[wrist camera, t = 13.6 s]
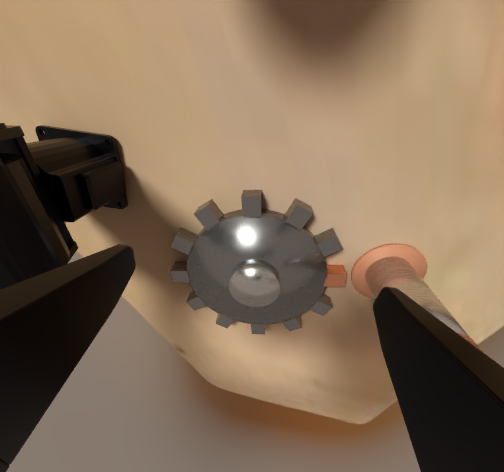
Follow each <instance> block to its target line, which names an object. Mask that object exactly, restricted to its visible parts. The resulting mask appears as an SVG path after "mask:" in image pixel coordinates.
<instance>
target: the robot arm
mask: <svg viewBox="0 0 504 472" xmlns="http://www.w3.org/2000/svg"><path fill="white" fill-rule="evenodd" d="M43 131H44V132H45V134H44V132H43ZM36 133H37V136H38V139H39V141H37V142H32V143H26V142H25V140H24V138H23V136H25V135H24V133H23V131H22V129H21V127H20V126H6V125H5V123H0V472H6V471H7V469H8V468H9V465H10V464H11V463H12V461H13V460H14V458H15V457H16V455H17V454H18V452H19V451H20V449H21V448H22V446H23V445H24V443H25V442H26V440H27V439H28V437H29V436H30V434H31V433H32V431H33V430H34V428H35V427H36V425H37V424H38V422H39V421H40V419H41V418H42V416H43V415H44V413H45V412H46V410H47V409H48V407H49V406H50V404H51V403H52V401H53V400H54V398H55V397H56V395H57V394H58V392H59V391H60V389H61V388H62V386H63V385H64V383H65V382H66V380H67V379H68V377H69V376H70V374H71V373H72V371H73V370H74V368H75V367H76V365H77V364H78V362H79V361H80V359H81V358H82V356H83V355H84V353H85V352H86V350H87V349H88V347H89V346H90V344H91V343H92V341H93V340H94V338H95V337H96V335H97V334H98V332H99V331H100V329H101V327H102V326H103V325H104V323H105V322H106V320H107V319H108V317H109V316H110V314H111V313H112V311H113V309H114V308H115V306H116V304H117V303H118V301H119V299H120V297H121V295H122V293H123V291H124V289H125V287H126V286H127V284H128V282H129V280H130V278H131V276H132V274H133V272H134V270H135V259H134V253H133V249H132V247H131V246H128V245H121V244H119V245H116V246H113V247H111V248H108V249H105V250H103V251H100V252H97V253H95V254H92V255H90V256H87V257H84V258H82V259H79V260H77V261H74V262H71V263H69V264H67V263H68V261H70V259H71V257H72V256H73V255H74V253H75V252H76V250H77V249H78V246H77V244H76V242H75V241H73V239H72V237H71V235H70V233H69V231H68V229H67V227H66V225H65V223H66V222H75V221H76V220H78V219H80V218H81V217H83V216H84V215H86V214H88V213H89V212H91V211H93V210H97V209H99V208H101V207H102V206H104V207H110V208H117V209H124V208H125V207H127V204H128V203H127V198H126V192H125V191H126V188H125V182H124V176H123V171H122V165H121V163H120V159H119V153H118V147H117V142H116V140H115V138H114V137H112V136H110V135H104V134H97V133H91V132H84V131H77V130H71V129H64V128H57V127H51V126H37V127H36ZM108 140H109V141H110V142H111V145H110V144H109V143H108ZM120 202H121V203H122V204H123V205H121V204H120ZM373 310H374V315H375V320H376V325H377V329H378V334H379V339H380V344H381V348H382V352H383V355H384V358H385V361H386V365H387V368H388V371H389V374H390V377H391V380H392V383H393V386H394V389H395V393H396V396H397V399H398V402H399V405H400V408H401V411H402V414H403V417H404V420H405V424H406V427H407V430H408V433H409V436H410V439H411V442H412V446H413V449H414V452H415V454H416V458H417V461H418V464H419V467H420V470H421V472H504V368H503V367H501V366H500V365H499V364H498V363H496V362H495V361H494V360H492V359H491V358H490V357H488V356H487V355H486V354H484V353H483V352H482V351H480V350H479V349H478V348H476V347H475V346H474V345H472V344H471V343H470V342H468V341H467V340H466V339H464V338H463V337H462V336H460V335H459V334H458V333H456V332H455V331H454V330H452V329H451V328H450V327H448V326H447V325H446V324H444V323H443V322H442V321H440V320H439V319H438V318H436V317H435V316H434V315H432V314H431V313H430V312H428V311H427V310H426V309H424V308H423V307H422V306H420V305H419V304H418V303H416V302H415V301H414V300H412V299H411V298H410V297H408V296H407V295H406V294H404V293H403V292H402V291H400V290H399V289H397V288H394V287H387V286H385V287H383V288H382V289H381V291H380V292H379V294H378V296H377V298H376V299H375V301H374V304H373Z"/></svg>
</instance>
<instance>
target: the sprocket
mask: <svg viewBox="0 0 504 472" xmlns="http://www.w3.org/2000/svg"><path fill="white" fill-rule="evenodd" d="M241 198H242V210H238V211H234V212H230V213H227V214H225V215H223V213H222V212H221V211H220V209H219V208H218V207H217V205H216V204H215V203H214V201H213V200H212V199H211V200H210V201H208V202H207V203H205V204H203V205H202V206H200V207H199V208H198V209H197V210H196V212H195V213H194V215H195V216H196V217H197V219H198V220H199V221H200V222H201V224H202V225H203V226H204V227H205V228H204V229H203V230H202V231H201V232H200V234H199V235H196V234H194V233H192V232H189V231H187V230H185V229H183V228H181V229H180V230H179V231H178V233H177V234H176V235H175V238H174V240H173V243H172V246H171V248H173V249H176V250H178V251H180V252H182V253H185V254H187V255H188V259H187V262H175V264H174V266H173V267H172V269H171V270H170V272H171V275H172V278H173V282H182V283H190V284H191V286H192V288H193V290H194V291H193V292H191V293H190V295H189V297H188V299H187V301H186V302H187V303H188V304H189V305H190V306H191V307H192V308H193V309H194V310H197V309H200V308H202V307H205V306H208V307H209V308H211V309H212V310H214V311H215V312H217V313H218V317H217V320H216V324H218V325H220V326H223V327H225V328H228V327H229V326H230V324H231V323H232V322H233V320H235V321H238V322H243V323H248V324H251V329H252V334H265V324H275V323H281V322H282V323H283V324H284V325H285V326H286V327H287V329H288V330H289V331H292V330H296V329H299V328H302V325H301V317H300V315H302V314H303V313H305V312H306V311H308V310H312V311H314V312H316V313H318V314H320V315H324V314H326V313H327V312H328V311H329V310H330V309H331V308H332V305H331V301H330V297H328V296H326V295H324V294H322V293H323V292H324V289H325V286H326V287H344V286H345V281H346V277H347V274H346V271H345V269H344V266H343V265H326V261H325V258H324V257H326V256H328V255H330V254H333V253H335V252H338V251H340V250H343V248H342V245H341V243H340V241H339V239H338V237H337V235H336V233H335V231H334V229H333V228H331V229H329V230H327V231H325V232H323V233H320V234H318V235H316V236H314V235H313V234H312V233H311V232H310V231H309V230H308V229H307V228H306V227H305V226H304V225H305V224H306V222H307V221H308V220H309V218H310V217H311V216H312V214H313V212H312V208H311V206H309V205H307V204H305V203H304V202H302V201H300V200H298V199H296V198H295V200H294V201H293V203H292V204H291V206H290V207H289V209H288V210H287V212H286V213H285V215H284V214H281V213H279V212H275V211H270V210H264V209H262V190H244V191H243V193H242V196H241Z"/></svg>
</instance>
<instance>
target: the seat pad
mask: <svg viewBox="0 0 504 472" xmlns="http://www.w3.org/2000/svg"><path fill="white" fill-rule="evenodd" d="M385 257H401V258H404V259H406V260H407V261H408V262H409V263H410V264H411V265H412V267H413V268H414V269H415V270H416V271H417V273H418V274H419V275H420V276H421V278H422V279H423V278H424V276H425V274H426V271H427V262H426V259H425V257H424V256H423V255H422V254H421V253H420V252H419V251H418V250H417V249H415V248H413V247H411V246H408V245H404V244H388V245H383V246H379V247H377V248H374V249H372V250H370V251H368V252H367V253H365V254H364V255H363V256H361V257H360V258H359V259H358V261H357V262H356V263H355V265H354V267H353V269H352V273H351V278H352V282H353V285H354V287H355V288H356V289H357V290H358V291H359V292H360V293H361V294H363V295H365V296H368V297H371V298H374V297H373V295H372V293H371V291H370V289H369V287H368V285H367V283H366V281H365V273H366V270H367V269H368V267H369V266H370V265H371V264H373V263H374V262H375V261H377V260H379V259H382V258H385Z"/></svg>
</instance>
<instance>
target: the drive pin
mask: <svg viewBox="0 0 504 472" xmlns="http://www.w3.org/2000/svg"><path fill="white" fill-rule="evenodd" d="M365 281H366V283H367V285H368V287H369V289H370V291H371V293H372V295H373V297H374V299H376V298H377V296H378V294H379V292H380V291H381V289H382V288H383V287H385V286H387V287H394V288H397V289H399V290H400V291H402V292H403V293H404V294H406V295H407V296H408V297H410V298H411V299H412V300H414V301H415V302H416V303H418V304H419V305H420V306H422V307H423V308H424V309H426V310H427V311H428V312H430V313H431V314H432V315H434V316H435V317H436V318H438V319H439V320H440V321H442V322H443V323H444V324H446V325H447V326H448V327H450V328H451V329H452V330H454V331H455V332H456V333H458V334H459V335H460V336H462V337H463V338H464V339H466V340H467V341H468V342H470V343H471V344H472V345H474V346H475V347H476V348H478V349H479V350H480V351H482V350H481V349H480V348H479V347H478V345H477V344H476V343H475V342H474V341H473V339H471V338H470V337H469V336H468V334H467V333H466V332H465V331H464V329H463V328H462V327H461V326H460V325H459V323H458V322H457V321H456V320H455V318H454V317H453V316H452V315H451V313H450V312H449V311H448V310H447V308H446V307H445V306H444V305H443V304H442V302H441V301H440V300H439V299H438V297H437V296H436V295H435V294H434V292H433V291H432V290H431V289H430V288H429V286H428V285H427V284H426V283H425V281H424V280H423V279H422V278H421V276H420V275H419V274H418V273H417V271H416V270H415V269H414V268H413V267H412V265H411V264H410V263H409V262H408V261H407V260H406V259H404V258H401V257H385V258H382V259H379V260H377V261H375V262H374V263H373V264H371V265H370V266H369V267H368V269H367V270H366V273H365Z"/></svg>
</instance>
